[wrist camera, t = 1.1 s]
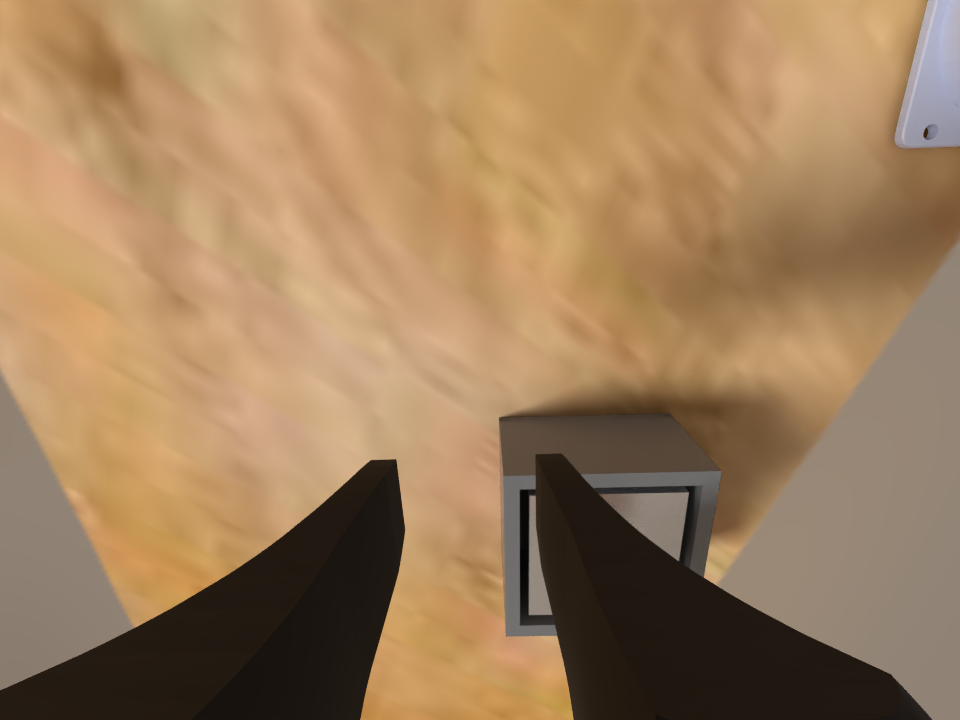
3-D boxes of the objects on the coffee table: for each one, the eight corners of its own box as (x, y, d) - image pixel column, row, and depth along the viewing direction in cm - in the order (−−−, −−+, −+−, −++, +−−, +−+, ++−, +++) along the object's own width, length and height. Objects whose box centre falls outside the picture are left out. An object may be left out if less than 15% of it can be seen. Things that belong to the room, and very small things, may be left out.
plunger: (682, 483, 17) (760, 592, 12) (665, 600, 19) (728, 736, 14) (528, 486, 17) (545, 596, 12) (527, 603, 19) (542, 737, 14)
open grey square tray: (667, 411, 21) (721, 471, 16) (651, 547, 24) (693, 633, 19) (498, 415, 21) (503, 476, 16) (501, 550, 24) (506, 636, 19)
